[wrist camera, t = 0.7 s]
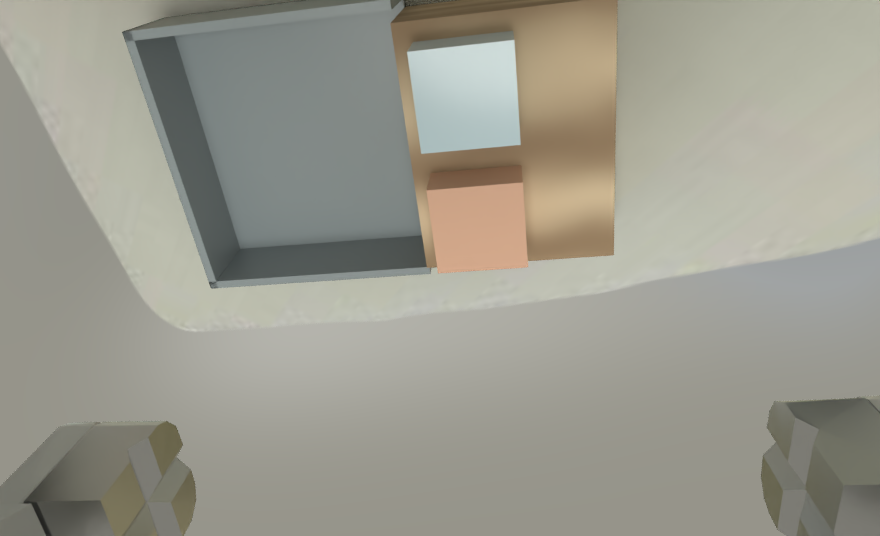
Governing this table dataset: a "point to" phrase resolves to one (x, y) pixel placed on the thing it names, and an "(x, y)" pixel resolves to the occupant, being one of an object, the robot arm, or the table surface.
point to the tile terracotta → (478, 219)
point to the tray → (286, 139)
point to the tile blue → (465, 92)
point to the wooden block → (535, 115)
